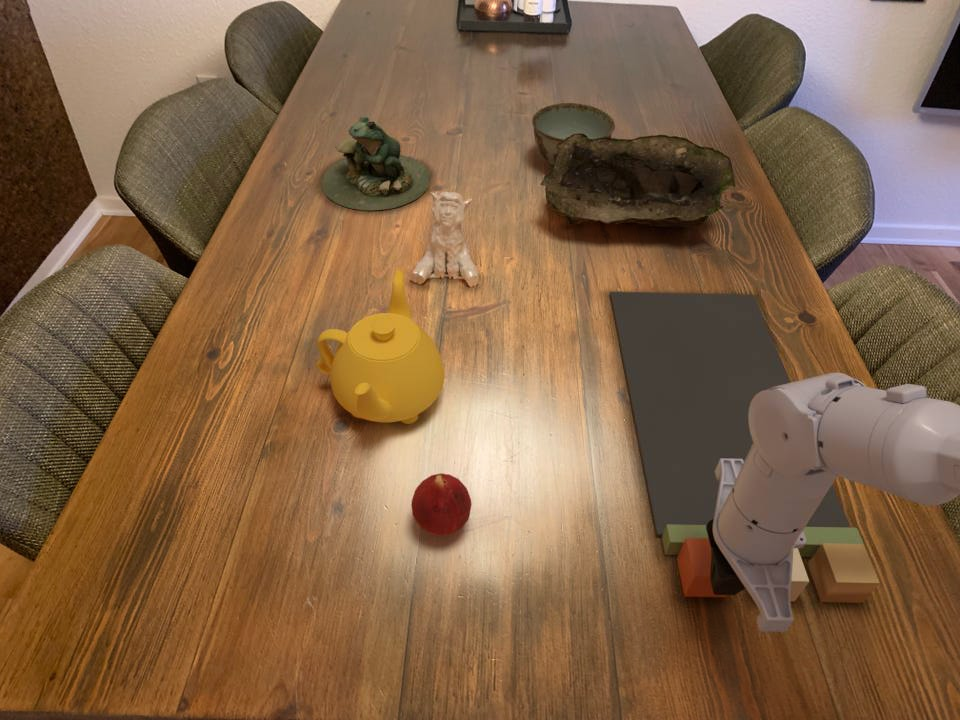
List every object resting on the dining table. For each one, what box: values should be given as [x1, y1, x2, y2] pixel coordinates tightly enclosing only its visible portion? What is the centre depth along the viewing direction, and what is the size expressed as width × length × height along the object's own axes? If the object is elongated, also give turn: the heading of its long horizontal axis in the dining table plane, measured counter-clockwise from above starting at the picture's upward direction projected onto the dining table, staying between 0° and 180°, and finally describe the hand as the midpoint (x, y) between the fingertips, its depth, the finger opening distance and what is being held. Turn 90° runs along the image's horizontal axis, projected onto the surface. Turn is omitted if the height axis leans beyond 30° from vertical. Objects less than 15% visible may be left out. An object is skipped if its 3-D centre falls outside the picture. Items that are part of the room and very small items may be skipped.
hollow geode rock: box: [540, 133, 737, 229], centre depth 108 cm, size 28×13×15 cm
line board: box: [609, 291, 865, 558], centre depth 84 cm, size 40×20×2 cm, turn 0°
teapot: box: [316, 268, 445, 425], centre depth 80 cm, size 20×15×12 cm
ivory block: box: [751, 548, 810, 602], centre depth 67 cm, size 4×4×4 cm
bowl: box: [531, 102, 616, 168], centre depth 120 cm, size 14×13×8 cm
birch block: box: [807, 543, 881, 604], centre depth 67 cm, size 4×4×4 cm
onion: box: [410, 472, 472, 537], centre depth 69 cm, size 6×6×8 cm
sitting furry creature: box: [410, 191, 480, 288], centre depth 98 cm, size 10×9×12 cm
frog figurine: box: [320, 115, 431, 211], centre depth 114 cm, size 18×18×12 cm
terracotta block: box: [676, 538, 728, 598], centre depth 67 cm, size 4×4×4 cm
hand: (723, 587), depth 63 cm, fingers closed
